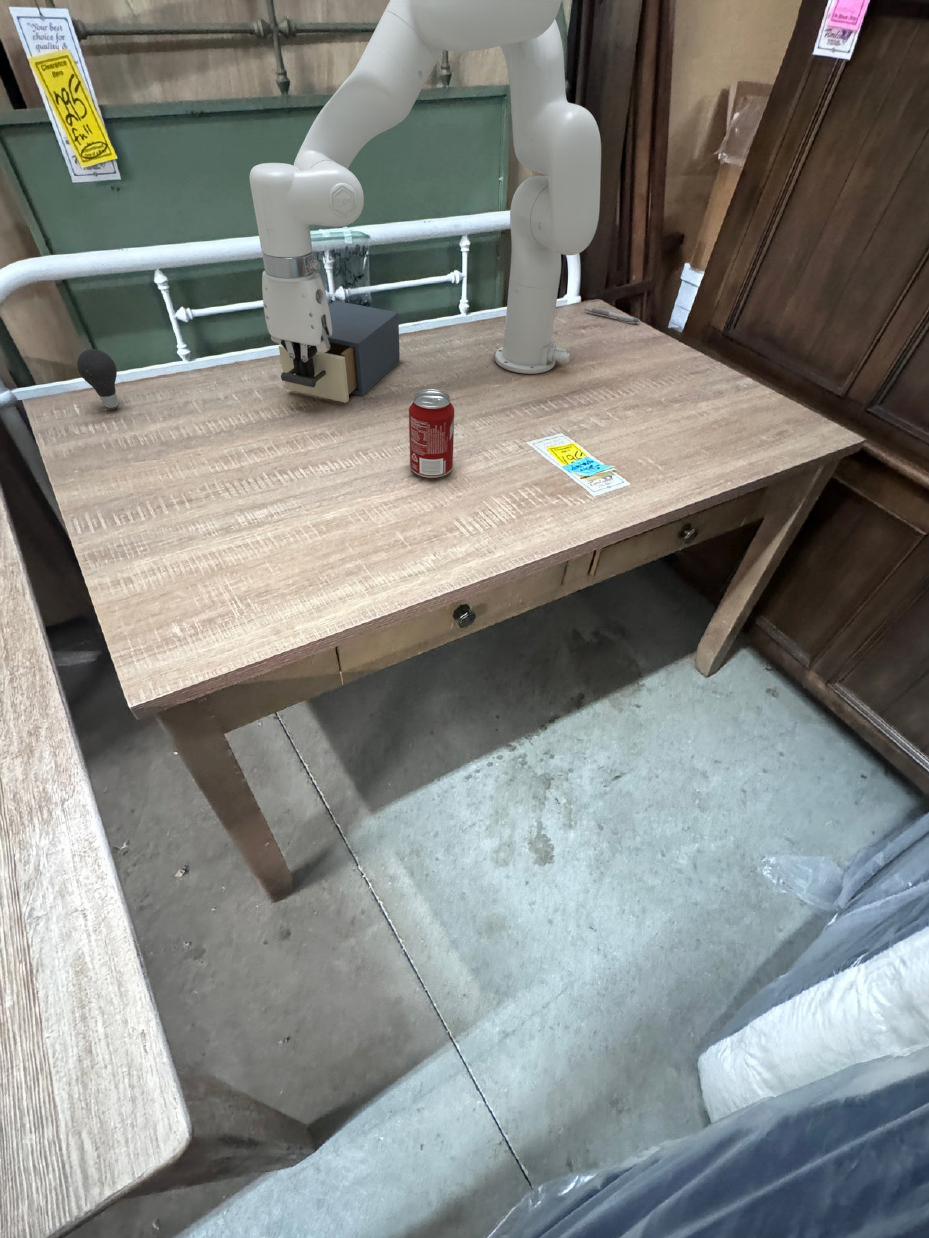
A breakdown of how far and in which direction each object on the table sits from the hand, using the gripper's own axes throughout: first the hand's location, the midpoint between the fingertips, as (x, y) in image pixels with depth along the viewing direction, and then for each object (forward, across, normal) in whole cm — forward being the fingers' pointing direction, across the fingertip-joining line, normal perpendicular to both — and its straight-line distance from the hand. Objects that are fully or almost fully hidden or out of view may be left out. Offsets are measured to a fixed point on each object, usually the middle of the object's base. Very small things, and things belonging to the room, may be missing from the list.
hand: (305, 380), depth 107 cm
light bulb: (+5, +30, +15) cm, 34 cm away
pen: (+5, -42, -69) cm, 81 cm away
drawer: (+4, 0, -7) cm, 8 cm away
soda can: (+5, -28, +10) cm, 30 cm away
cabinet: (+5, 0, -16) cm, 16 cm away
